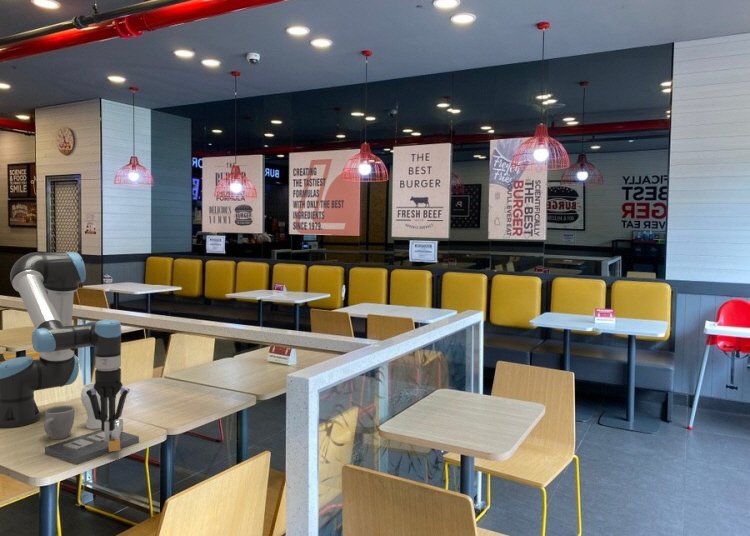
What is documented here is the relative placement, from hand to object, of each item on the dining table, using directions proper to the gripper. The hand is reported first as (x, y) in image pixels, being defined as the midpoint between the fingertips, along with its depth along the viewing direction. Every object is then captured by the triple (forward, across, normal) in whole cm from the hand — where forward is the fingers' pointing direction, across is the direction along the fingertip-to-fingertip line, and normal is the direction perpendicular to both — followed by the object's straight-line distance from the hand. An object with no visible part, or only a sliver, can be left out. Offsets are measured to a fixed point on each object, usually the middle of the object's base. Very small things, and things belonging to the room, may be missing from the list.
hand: (108, 440), depth 183 cm
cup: (+4, -12, +25) cm, 28 cm away
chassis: (+4, -6, +3) cm, 7 cm away
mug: (+4, -21, +13) cm, 25 cm away
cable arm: (+1, +1, +3) cm, 4 cm away
